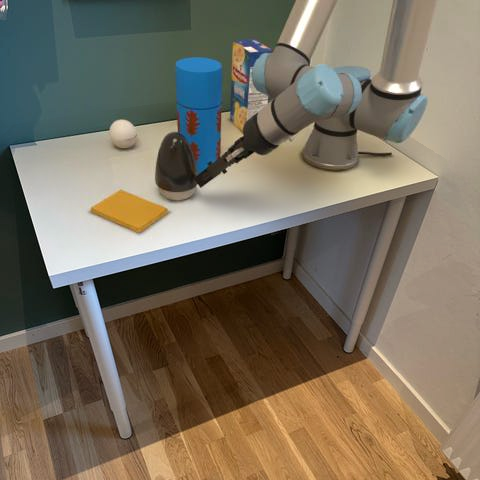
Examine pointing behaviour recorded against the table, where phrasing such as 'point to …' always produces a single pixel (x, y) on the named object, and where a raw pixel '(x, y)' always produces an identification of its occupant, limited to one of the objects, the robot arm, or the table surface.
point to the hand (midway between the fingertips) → (198, 181)
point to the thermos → (200, 107)
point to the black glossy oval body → (175, 167)
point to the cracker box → (245, 81)
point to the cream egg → (123, 133)
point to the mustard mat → (129, 210)
